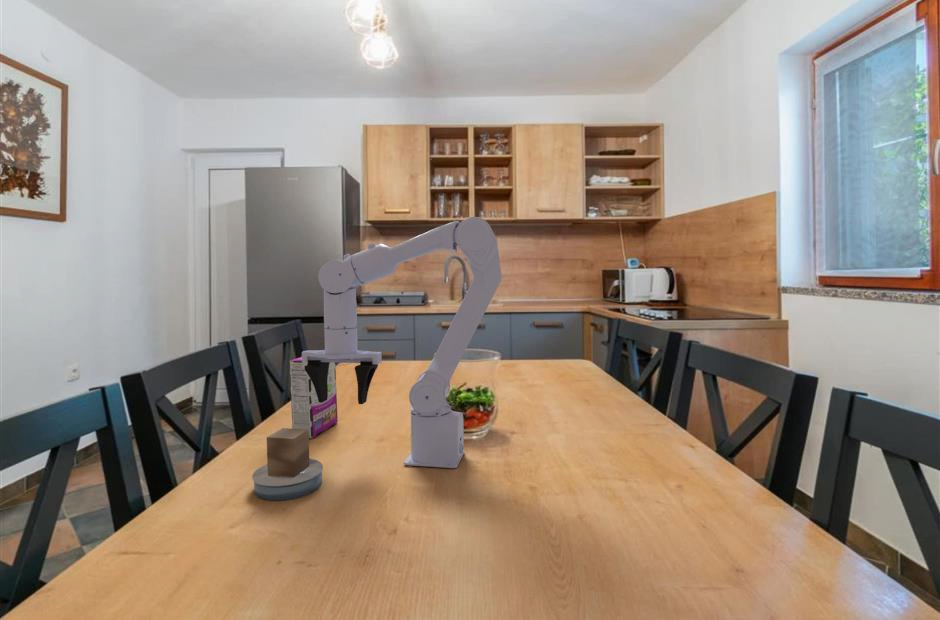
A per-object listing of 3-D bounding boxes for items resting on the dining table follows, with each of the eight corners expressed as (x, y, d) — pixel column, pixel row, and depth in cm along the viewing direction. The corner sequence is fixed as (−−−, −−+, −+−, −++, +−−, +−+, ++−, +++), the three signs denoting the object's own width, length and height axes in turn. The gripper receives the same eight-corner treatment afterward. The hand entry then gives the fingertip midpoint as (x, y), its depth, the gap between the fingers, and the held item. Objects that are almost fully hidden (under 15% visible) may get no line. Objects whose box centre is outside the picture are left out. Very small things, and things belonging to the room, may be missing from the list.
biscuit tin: (334, 477, 79) (333, 459, 78) (303, 506, 68) (302, 486, 68) (277, 473, 80) (276, 456, 80) (238, 502, 70) (237, 482, 70)
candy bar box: (318, 421, 108) (316, 351, 107) (338, 423, 107) (336, 351, 106) (290, 438, 97) (288, 359, 96) (312, 439, 96) (310, 360, 95)
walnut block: (309, 465, 76) (308, 429, 76) (294, 477, 72) (293, 438, 71) (283, 464, 77) (282, 428, 76) (267, 475, 72) (266, 437, 72)
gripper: (291, 329, 82) (294, 406, 83) (370, 330, 79) (372, 409, 80) (312, 325, 89) (313, 396, 90) (385, 326, 86) (386, 399, 87)
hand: (342, 402), depth 85 cm, fingers open, 7 cm apart
